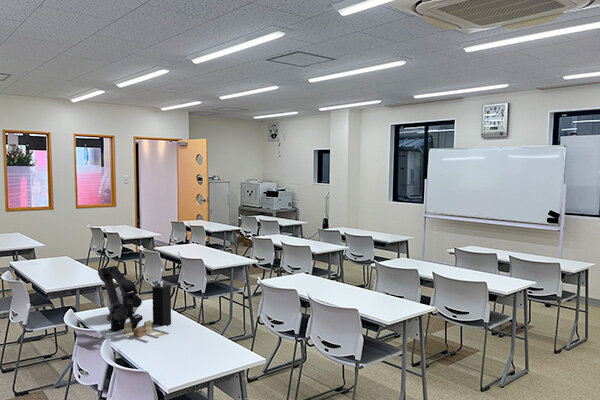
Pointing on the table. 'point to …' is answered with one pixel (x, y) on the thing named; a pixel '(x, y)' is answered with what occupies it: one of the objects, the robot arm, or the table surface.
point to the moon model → (120, 299)
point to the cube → (139, 332)
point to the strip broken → (149, 329)
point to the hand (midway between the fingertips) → (128, 330)
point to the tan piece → (128, 328)
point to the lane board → (149, 335)
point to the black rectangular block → (162, 304)
